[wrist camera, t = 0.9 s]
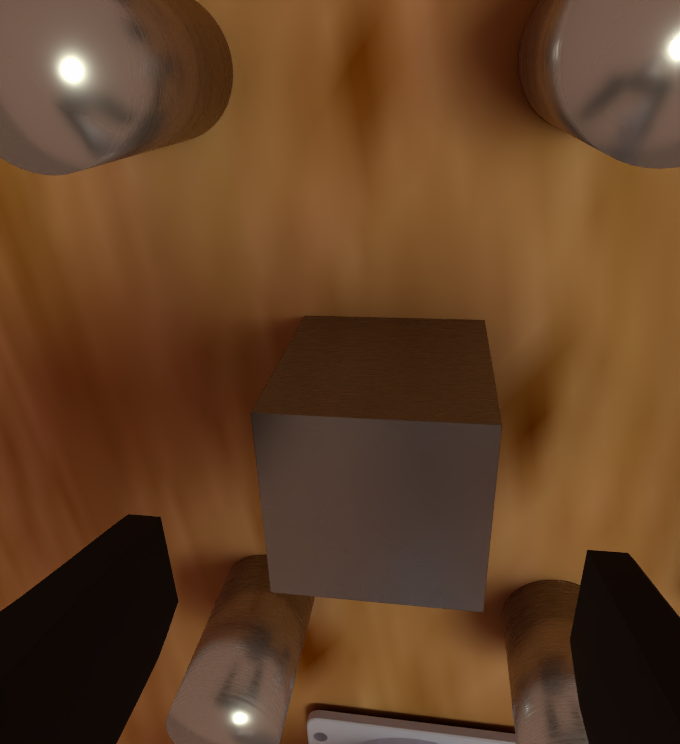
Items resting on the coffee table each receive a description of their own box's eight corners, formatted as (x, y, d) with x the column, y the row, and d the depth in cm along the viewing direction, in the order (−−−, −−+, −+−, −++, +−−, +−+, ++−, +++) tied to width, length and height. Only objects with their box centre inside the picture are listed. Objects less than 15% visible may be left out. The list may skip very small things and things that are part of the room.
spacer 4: (661, 131, 12) (781, 167, 8) (511, 134, 13) (546, 169, 8) (694, -44, 11) (861, -117, 7) (526, -34, 12) (577, -97, 7)
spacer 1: (239, 140, 14) (143, 174, 9) (117, 142, 14) (-30, 175, 10) (224, -15, 12) (104, -61, 8) (89, -8, 13) (-95, -46, 8)
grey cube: (472, 469, 17) (483, 612, 12) (314, 460, 18) (270, 592, 13) (484, 319, 15) (501, 425, 10) (305, 314, 16) (250, 412, 11)
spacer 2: (316, 626, 21) (282, 779, 16) (232, 617, 21) (175, 764, 17) (312, 559, 19) (273, 706, 15) (221, 551, 20) (157, 691, 15)
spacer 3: (595, 654, 19) (641, 830, 15) (498, 644, 20) (514, 811, 15) (611, 584, 18) (666, 754, 13) (507, 576, 18) (527, 737, 14)
